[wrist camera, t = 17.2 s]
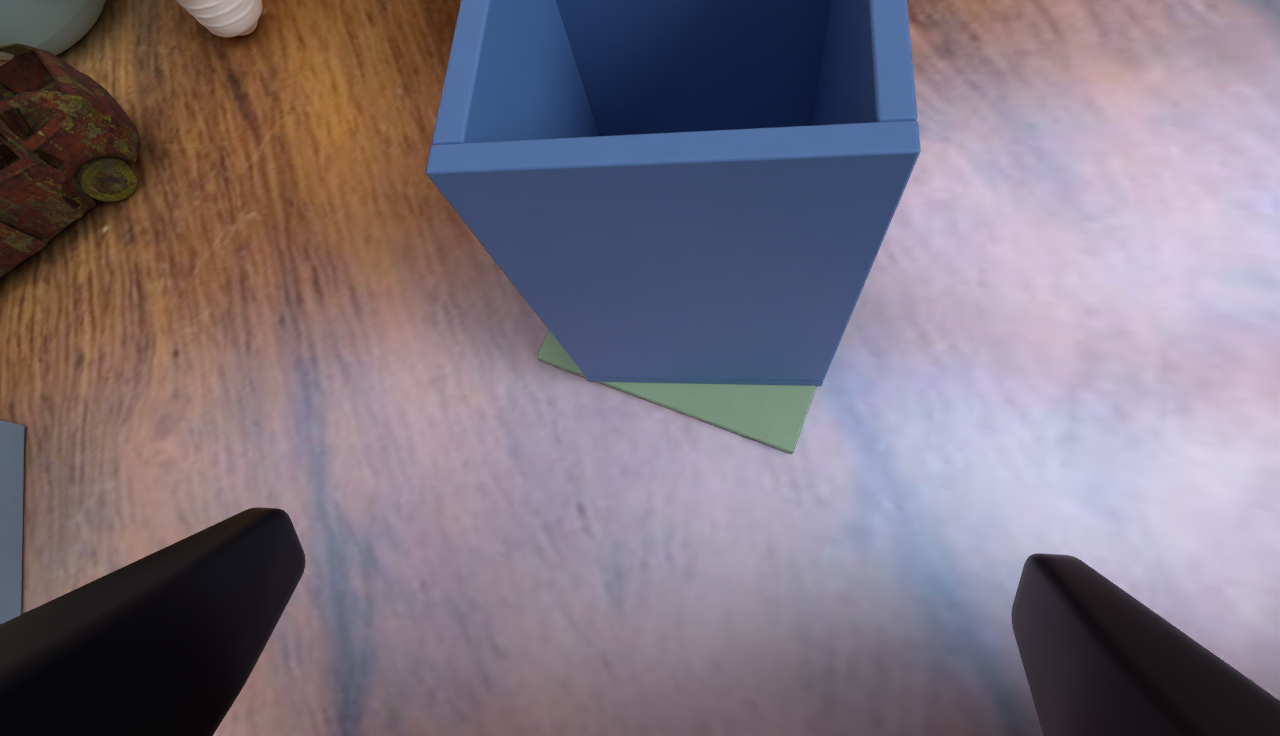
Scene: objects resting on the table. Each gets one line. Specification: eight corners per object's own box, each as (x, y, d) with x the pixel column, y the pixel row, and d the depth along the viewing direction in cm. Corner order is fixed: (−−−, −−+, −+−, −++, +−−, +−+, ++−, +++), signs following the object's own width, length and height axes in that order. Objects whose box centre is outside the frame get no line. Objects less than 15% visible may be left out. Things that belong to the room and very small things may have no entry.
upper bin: (821, 386, 17) (922, 151, 8) (588, 382, 18) (423, 172, 9) (816, 181, 19) (889, -204, 10) (607, 189, 20) (490, -149, 11)
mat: (792, 454, 17) (793, 452, 16) (538, 360, 19) (535, 357, 18) (878, 211, 19) (880, 205, 18) (639, 150, 21) (637, 144, 20)
